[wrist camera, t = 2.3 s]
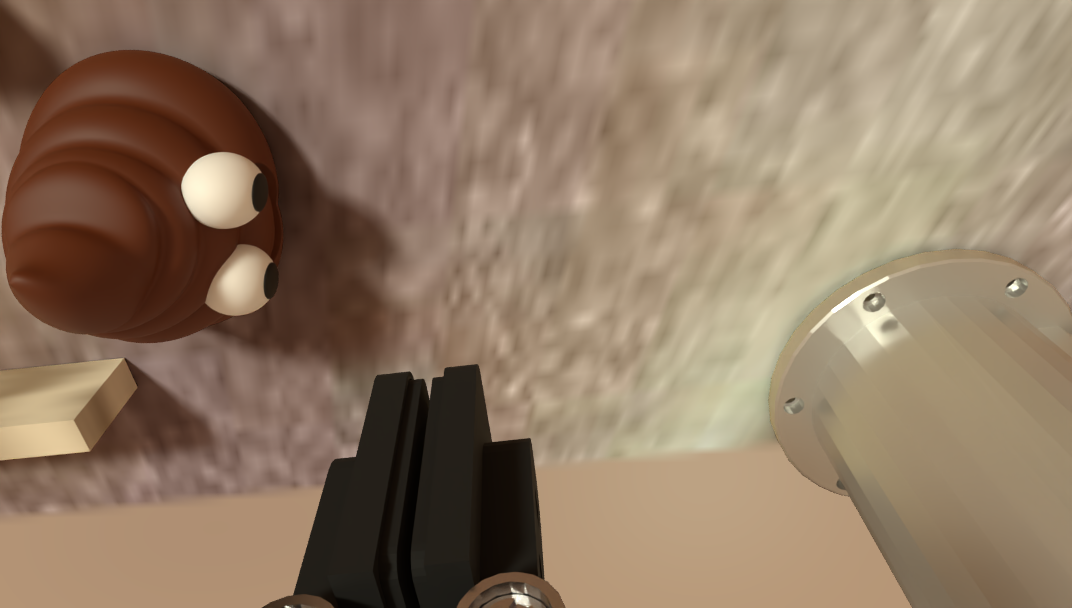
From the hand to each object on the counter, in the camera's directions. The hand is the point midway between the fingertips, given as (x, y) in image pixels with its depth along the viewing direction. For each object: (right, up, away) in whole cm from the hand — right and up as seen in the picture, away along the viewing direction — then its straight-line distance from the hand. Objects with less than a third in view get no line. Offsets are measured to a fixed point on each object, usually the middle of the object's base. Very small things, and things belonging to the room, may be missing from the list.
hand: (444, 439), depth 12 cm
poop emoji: (-11, +7, +14) cm, 20 cm away
